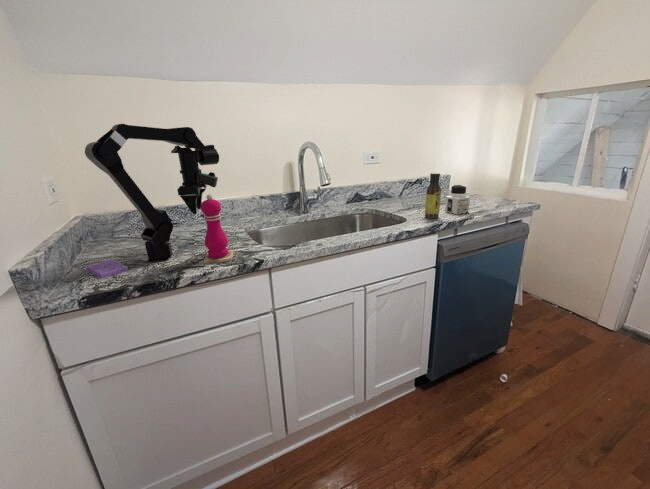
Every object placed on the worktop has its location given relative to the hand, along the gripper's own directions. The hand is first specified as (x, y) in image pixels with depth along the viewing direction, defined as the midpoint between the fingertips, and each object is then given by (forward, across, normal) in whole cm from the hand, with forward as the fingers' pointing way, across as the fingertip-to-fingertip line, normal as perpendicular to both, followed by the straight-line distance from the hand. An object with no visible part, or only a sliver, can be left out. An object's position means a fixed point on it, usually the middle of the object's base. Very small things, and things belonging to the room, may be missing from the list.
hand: (197, 211), depth 110 cm
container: (+13, +16, -115) cm, 117 cm away
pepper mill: (+12, -15, -7) cm, 21 cm away
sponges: (+14, -16, +26) cm, 33 cm away
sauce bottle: (+13, +11, -99) cm, 100 cm away
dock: (+13, -15, -8) cm, 21 cm away
